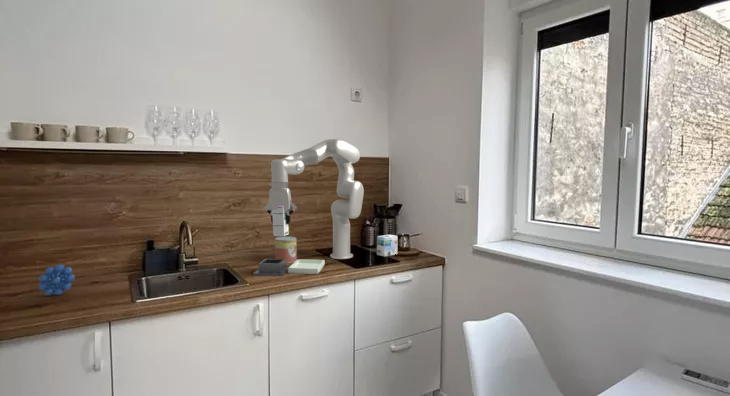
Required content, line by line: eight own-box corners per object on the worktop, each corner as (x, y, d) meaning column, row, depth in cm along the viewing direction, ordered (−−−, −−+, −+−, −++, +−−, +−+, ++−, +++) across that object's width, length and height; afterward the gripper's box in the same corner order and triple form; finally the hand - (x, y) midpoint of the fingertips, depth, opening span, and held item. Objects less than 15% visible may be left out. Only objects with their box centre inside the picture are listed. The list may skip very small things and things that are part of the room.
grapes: (78, 290, 164) (77, 260, 163) (74, 295, 158) (72, 264, 157) (42, 293, 160) (41, 263, 159) (36, 299, 154) (35, 267, 153)
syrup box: (284, 236, 192) (283, 205, 190) (272, 236, 193) (271, 205, 192) (289, 234, 197) (288, 204, 196) (277, 233, 199) (277, 204, 197)
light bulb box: (384, 256, 228) (384, 237, 227) (376, 254, 233) (376, 236, 233) (398, 254, 235) (398, 235, 234) (389, 252, 240) (389, 234, 240)
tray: (297, 264, 210) (297, 259, 210) (324, 264, 209) (324, 259, 209) (288, 273, 192) (288, 268, 192) (317, 274, 191) (317, 268, 191)
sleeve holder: (263, 267, 202) (263, 257, 202) (291, 268, 201) (290, 258, 201) (253, 275, 189) (252, 264, 188) (283, 276, 187) (282, 265, 187)
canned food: (286, 264, 210) (286, 241, 209) (270, 261, 216) (270, 238, 215) (301, 260, 220) (300, 237, 219) (285, 257, 226) (285, 235, 225)
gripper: (259, 186, 190) (260, 224, 192) (295, 186, 189) (296, 225, 190) (264, 185, 198) (265, 222, 199) (300, 185, 196) (300, 222, 198)
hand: (280, 223), depth 195 cm, fingers closed on syrup box, 6 cm apart
